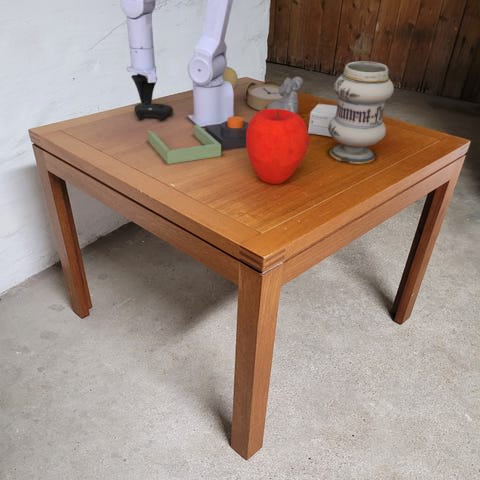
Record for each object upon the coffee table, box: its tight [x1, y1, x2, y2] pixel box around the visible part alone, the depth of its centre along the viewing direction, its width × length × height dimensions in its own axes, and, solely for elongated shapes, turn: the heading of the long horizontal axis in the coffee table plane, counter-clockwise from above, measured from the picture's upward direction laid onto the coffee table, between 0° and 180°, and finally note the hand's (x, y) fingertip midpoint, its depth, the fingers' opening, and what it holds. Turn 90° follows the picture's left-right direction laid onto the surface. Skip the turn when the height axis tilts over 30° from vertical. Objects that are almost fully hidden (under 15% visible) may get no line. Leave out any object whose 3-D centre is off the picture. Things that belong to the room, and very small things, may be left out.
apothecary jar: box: [328, 60, 395, 165], centre depth 106 cm, size 12×12×18 cm
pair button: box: [227, 115, 245, 128], centre depth 113 cm, size 4×4×2 cm
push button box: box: [204, 121, 250, 151], centre depth 115 cm, size 10×9×4 cm
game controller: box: [134, 101, 174, 121], centre depth 127 cm, size 10×5×6 cm
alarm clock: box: [242, 80, 283, 111], centre depth 138 cm, size 11×5×15 cm
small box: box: [307, 103, 337, 138], centre depth 121 cm, size 8×8×5 cm
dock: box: [147, 124, 222, 165], centre depth 111 cm, size 12×14×2 cm
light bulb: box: [222, 66, 239, 92], centre depth 132 cm, size 6×6×10 cm
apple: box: [245, 109, 310, 185], centre depth 96 cm, size 12×12×13 cm
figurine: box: [267, 76, 304, 116], centre depth 123 cm, size 8×10×11 cm
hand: (146, 105), depth 130 cm, fingers closed
